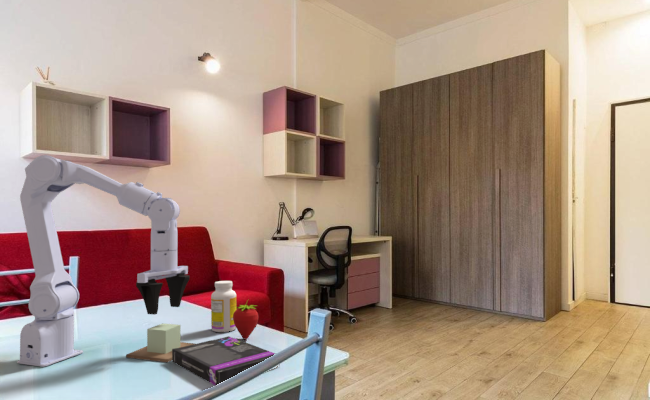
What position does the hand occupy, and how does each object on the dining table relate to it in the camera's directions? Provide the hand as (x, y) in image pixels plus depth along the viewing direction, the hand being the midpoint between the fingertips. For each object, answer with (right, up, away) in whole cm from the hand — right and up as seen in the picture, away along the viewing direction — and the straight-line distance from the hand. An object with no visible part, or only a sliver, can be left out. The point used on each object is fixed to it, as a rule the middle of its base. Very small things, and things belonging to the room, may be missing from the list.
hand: (164, 310), depth 95 cm
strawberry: (+17, -10, +9) cm, 21 cm away
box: (+16, -10, -9) cm, 21 cm away
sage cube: (0, -9, 0) cm, 9 cm away
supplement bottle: (+9, -10, +18) cm, 22 cm away
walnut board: (0, -9, 0) cm, 9 cm away
